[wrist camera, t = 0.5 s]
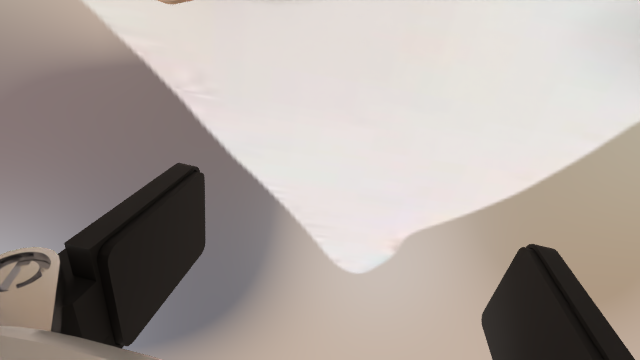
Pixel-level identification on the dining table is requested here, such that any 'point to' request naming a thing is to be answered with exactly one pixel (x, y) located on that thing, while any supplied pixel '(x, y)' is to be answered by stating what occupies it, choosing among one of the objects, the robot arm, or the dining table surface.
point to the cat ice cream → (173, 1)
